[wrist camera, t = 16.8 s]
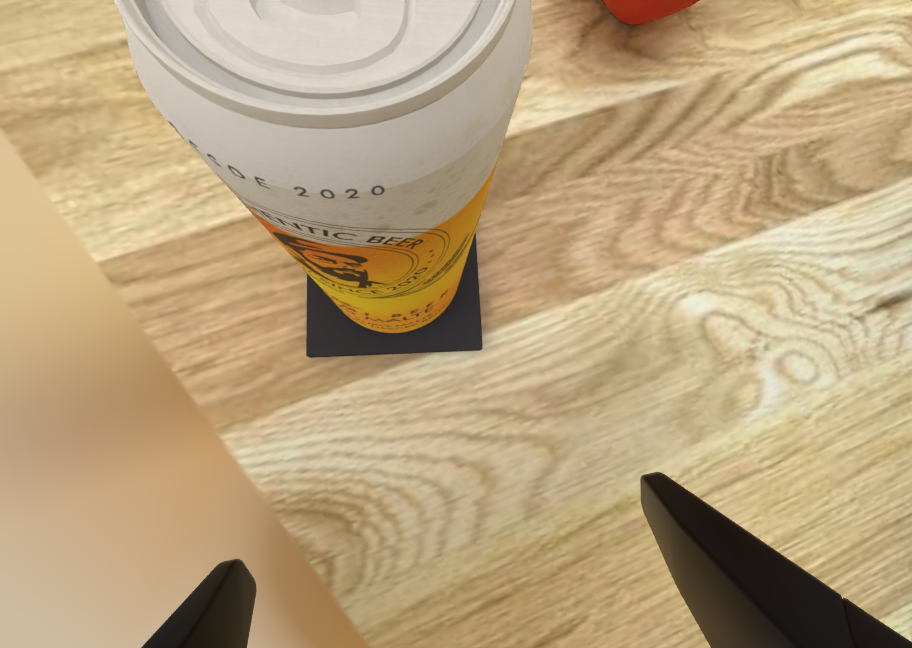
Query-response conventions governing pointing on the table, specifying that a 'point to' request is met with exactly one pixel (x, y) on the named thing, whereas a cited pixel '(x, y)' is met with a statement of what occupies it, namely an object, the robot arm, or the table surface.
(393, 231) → the beer can
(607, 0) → the apple
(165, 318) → the table surface
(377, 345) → the mat
